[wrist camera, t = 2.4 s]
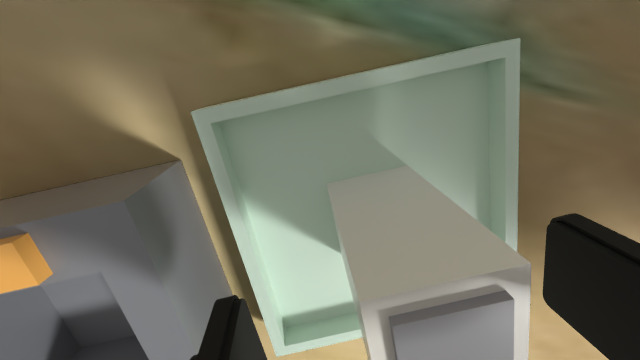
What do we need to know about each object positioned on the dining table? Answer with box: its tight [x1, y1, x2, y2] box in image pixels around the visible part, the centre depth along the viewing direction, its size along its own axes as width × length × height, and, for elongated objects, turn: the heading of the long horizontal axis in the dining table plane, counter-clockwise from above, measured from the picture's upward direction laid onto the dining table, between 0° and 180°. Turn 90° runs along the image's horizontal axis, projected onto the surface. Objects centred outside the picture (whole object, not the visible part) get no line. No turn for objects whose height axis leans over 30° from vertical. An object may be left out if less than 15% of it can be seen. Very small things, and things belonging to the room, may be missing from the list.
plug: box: [326, 165, 531, 360], centre depth 11 cm, size 4×4×8 cm
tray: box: [191, 38, 520, 357], centre depth 15 cm, size 13×13×2 cm
